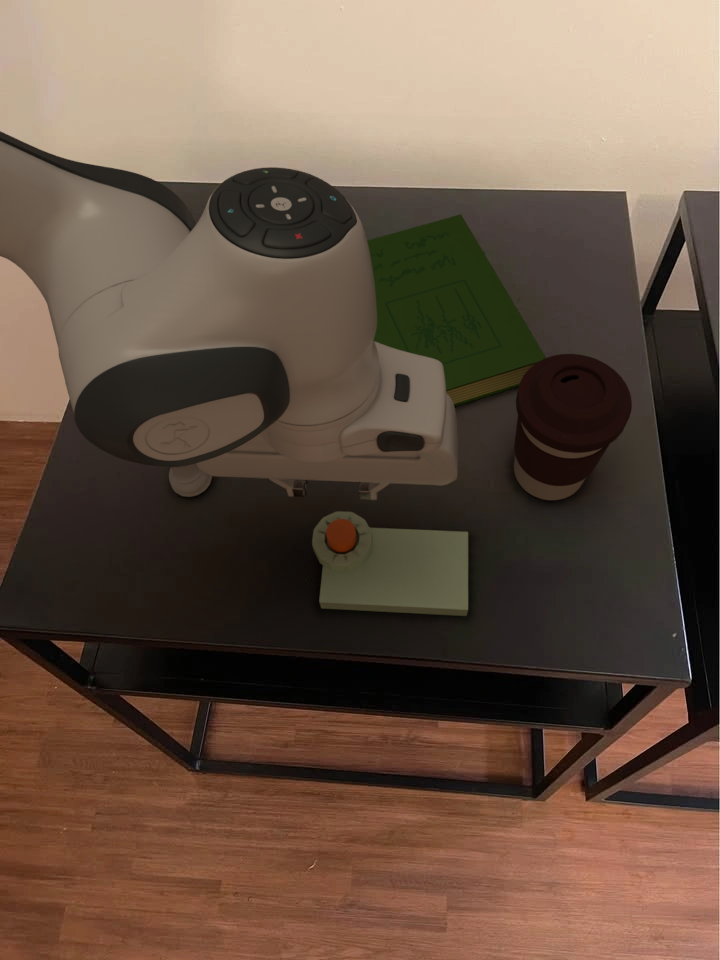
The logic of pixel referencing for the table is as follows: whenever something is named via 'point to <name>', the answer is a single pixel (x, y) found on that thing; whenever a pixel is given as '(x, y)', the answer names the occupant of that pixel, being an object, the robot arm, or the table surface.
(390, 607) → the scale
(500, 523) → the table surface
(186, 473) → the rook chess piece
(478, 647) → the table surface
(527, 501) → the table surface
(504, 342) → the hardcover book
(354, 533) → the button
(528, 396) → the coffee cup
